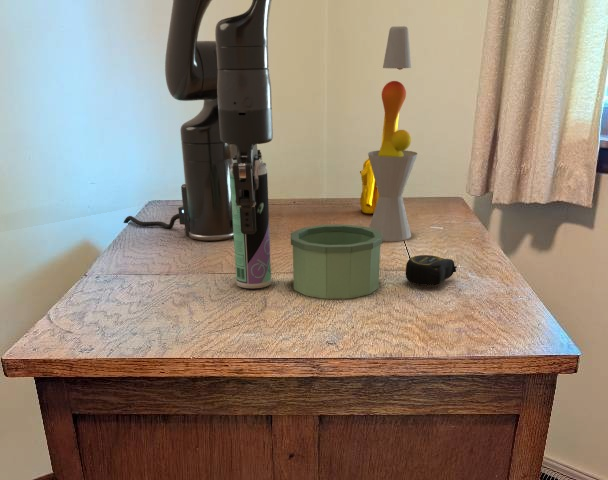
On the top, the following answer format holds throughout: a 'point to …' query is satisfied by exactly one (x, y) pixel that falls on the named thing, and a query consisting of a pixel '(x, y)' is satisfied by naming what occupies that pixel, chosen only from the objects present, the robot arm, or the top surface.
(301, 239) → the hollow green tube
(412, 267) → the tape measure
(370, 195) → the figure statuette
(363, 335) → the top surface
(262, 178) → the spray can
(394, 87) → the lava lamp
